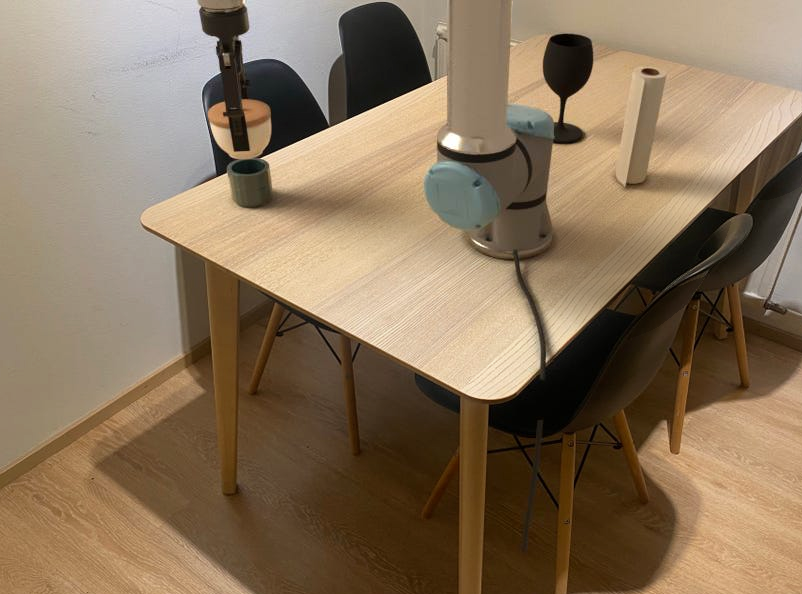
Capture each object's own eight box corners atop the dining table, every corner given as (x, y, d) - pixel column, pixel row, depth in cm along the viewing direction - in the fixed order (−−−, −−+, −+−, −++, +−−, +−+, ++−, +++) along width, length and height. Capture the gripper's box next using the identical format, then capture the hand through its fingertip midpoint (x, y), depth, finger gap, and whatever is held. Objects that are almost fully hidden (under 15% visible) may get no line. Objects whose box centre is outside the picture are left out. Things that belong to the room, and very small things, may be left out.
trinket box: (216, 168, 134) (206, 116, 128) (214, 142, 142) (204, 92, 136) (278, 162, 136) (271, 110, 130) (272, 137, 144) (266, 87, 138)
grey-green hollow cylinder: (273, 207, 143) (268, 175, 139) (231, 209, 142) (225, 177, 138) (273, 187, 149) (269, 156, 144) (233, 190, 147) (227, 158, 143)
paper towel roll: (631, 168, 158) (650, 63, 144) (651, 180, 154) (673, 73, 140) (604, 176, 155) (622, 69, 141) (624, 188, 151) (645, 80, 137)
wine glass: (528, 126, 173) (537, 34, 160) (571, 121, 175) (583, 30, 162) (546, 145, 165) (557, 50, 152) (590, 140, 168) (604, 46, 155)
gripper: (203, -14, 131) (225, 111, 145) (192, 29, 114) (217, 167, 128) (248, -15, 132) (265, 110, 146) (243, 27, 115) (263, 164, 129)
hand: (243, 136), depth 137 cm, fingers closed on trinket box, 11 cm apart
